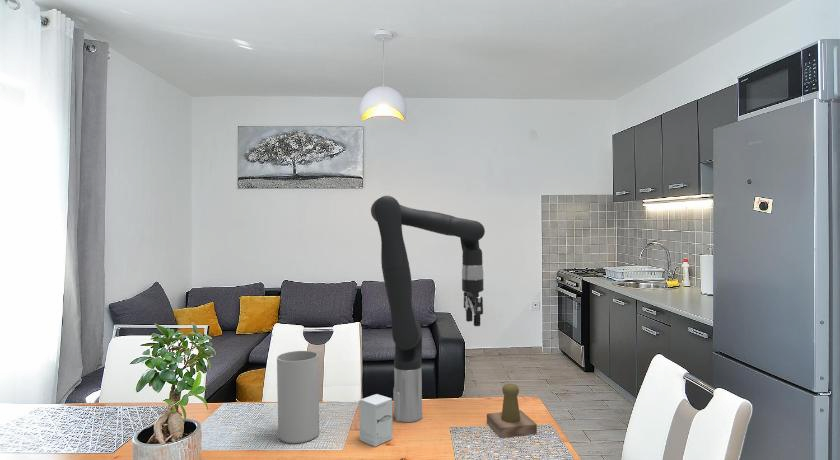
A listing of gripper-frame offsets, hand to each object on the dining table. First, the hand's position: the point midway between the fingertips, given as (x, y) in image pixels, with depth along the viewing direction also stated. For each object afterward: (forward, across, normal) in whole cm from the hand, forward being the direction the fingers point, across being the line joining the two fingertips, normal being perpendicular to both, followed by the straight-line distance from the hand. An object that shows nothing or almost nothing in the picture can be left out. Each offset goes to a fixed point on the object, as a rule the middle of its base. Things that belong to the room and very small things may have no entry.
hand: (473, 323), depth 179 cm
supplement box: (+30, +17, -37) cm, 51 cm away
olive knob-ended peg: (+27, +19, +6) cm, 34 cm away
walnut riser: (+30, +19, +6) cm, 36 cm away
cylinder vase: (+30, +8, -60) cm, 68 cm away
